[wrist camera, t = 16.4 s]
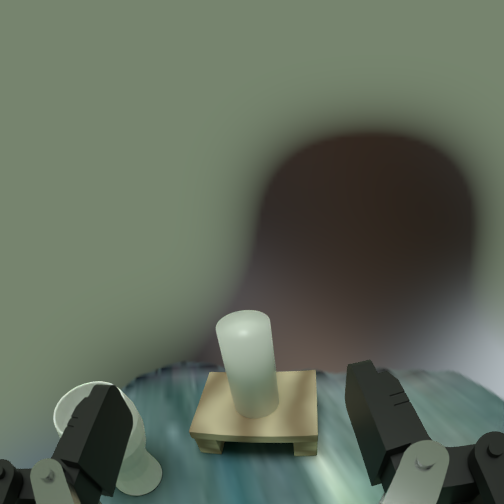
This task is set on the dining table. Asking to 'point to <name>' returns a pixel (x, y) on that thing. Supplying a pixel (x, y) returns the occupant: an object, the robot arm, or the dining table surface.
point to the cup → (136, 456)
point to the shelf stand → (261, 429)
